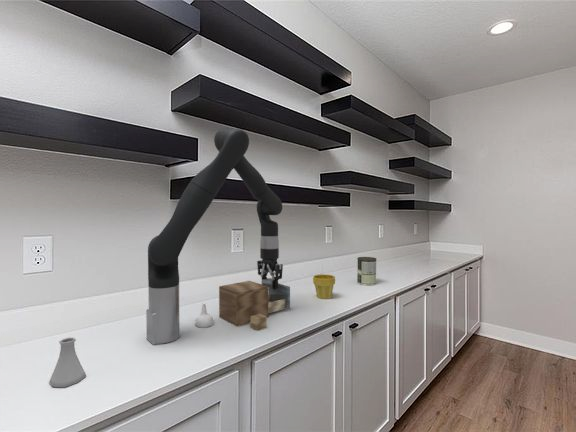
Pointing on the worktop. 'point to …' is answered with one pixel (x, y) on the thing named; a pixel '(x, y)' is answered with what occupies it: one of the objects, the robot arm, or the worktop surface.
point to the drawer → (278, 298)
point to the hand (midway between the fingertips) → (269, 287)
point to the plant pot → (324, 285)
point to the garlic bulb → (204, 318)
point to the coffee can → (366, 271)
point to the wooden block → (258, 322)
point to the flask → (67, 365)
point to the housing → (242, 302)
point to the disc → (267, 282)
